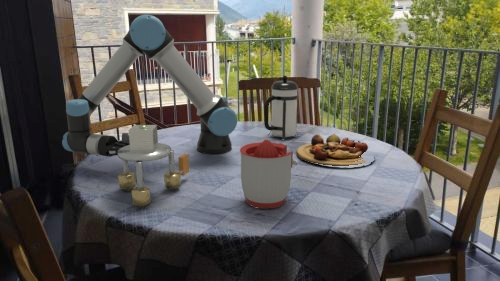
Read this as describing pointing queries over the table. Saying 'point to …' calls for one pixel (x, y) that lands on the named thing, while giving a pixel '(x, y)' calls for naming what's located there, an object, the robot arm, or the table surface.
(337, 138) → the wooden plate with food
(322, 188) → the table surface
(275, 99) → the coffee press
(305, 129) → the table surface
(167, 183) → the lever
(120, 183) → the tribrach stand
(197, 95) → the robot arm
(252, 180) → the citrus juicer
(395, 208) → the table surface
